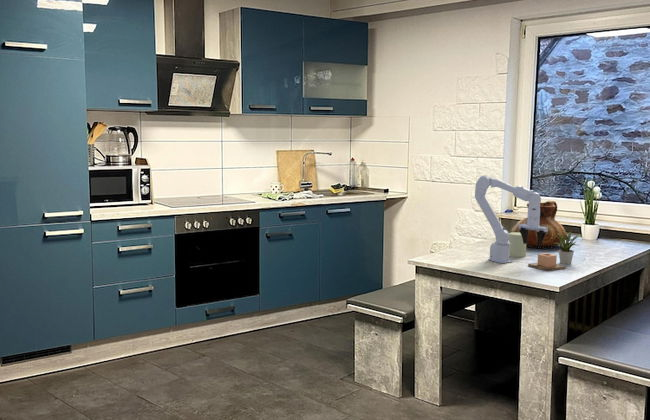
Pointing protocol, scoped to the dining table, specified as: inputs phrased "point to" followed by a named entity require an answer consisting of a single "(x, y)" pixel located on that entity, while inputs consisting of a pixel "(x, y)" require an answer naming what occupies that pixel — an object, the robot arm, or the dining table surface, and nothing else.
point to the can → (516, 245)
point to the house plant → (566, 248)
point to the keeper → (546, 267)
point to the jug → (547, 221)
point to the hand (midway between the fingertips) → (532, 244)
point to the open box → (547, 259)
